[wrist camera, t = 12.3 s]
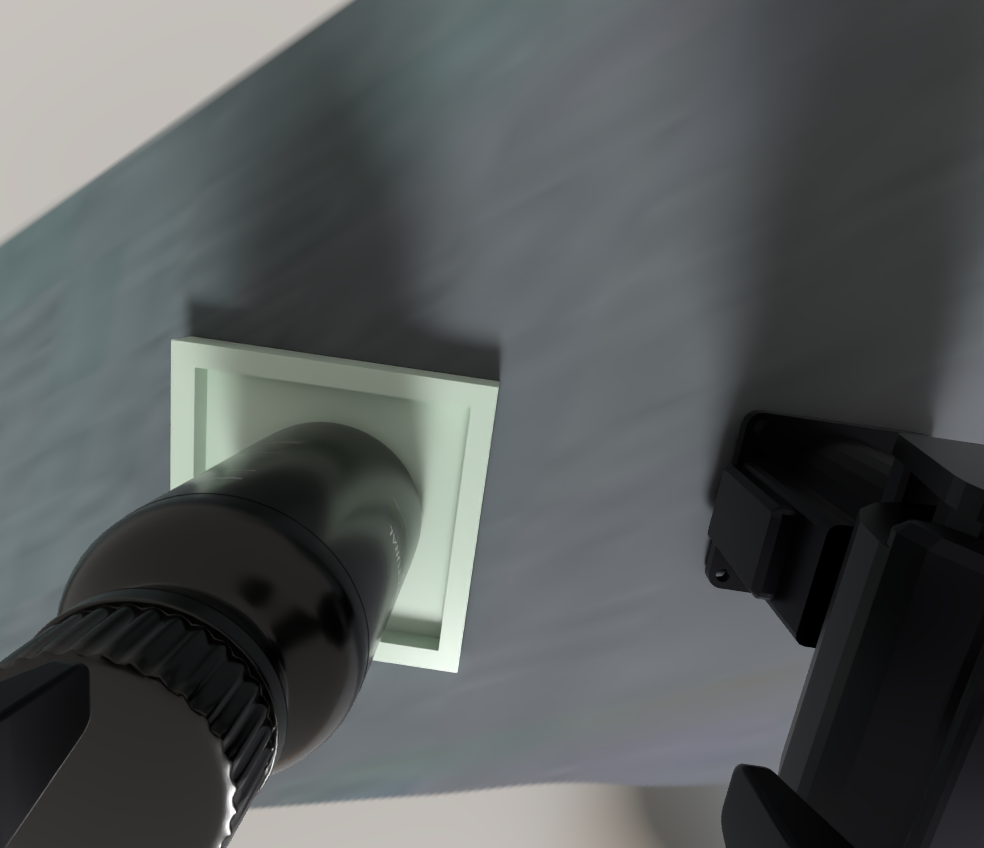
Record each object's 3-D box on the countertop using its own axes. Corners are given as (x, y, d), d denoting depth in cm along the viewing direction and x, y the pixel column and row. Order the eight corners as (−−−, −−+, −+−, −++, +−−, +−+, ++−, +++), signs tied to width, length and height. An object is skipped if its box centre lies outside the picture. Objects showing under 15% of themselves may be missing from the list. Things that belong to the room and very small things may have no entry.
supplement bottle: (461, 541, 21) (387, 867, 9) (308, 621, 22) (69, 1003, 10) (357, 378, 20) (120, 517, 8) (201, 472, 21) (-209, 714, 9)
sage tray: (499, 381, 20) (498, 387, 19) (460, 652, 22) (457, 672, 21) (191, 336, 20) (171, 339, 19) (188, 611, 23) (170, 628, 21)
